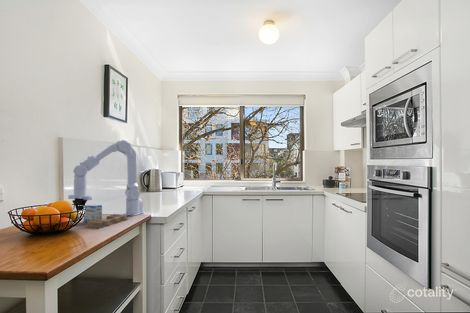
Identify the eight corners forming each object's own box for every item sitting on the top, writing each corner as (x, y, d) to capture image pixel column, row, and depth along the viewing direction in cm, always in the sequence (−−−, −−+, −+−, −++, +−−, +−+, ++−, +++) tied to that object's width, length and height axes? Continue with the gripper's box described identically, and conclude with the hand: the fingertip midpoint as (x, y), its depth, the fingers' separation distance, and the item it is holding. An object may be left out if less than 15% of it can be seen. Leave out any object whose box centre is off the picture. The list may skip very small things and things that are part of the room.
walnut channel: (114, 218, 149) (114, 214, 149) (127, 219, 146) (127, 215, 146) (87, 226, 132) (87, 221, 132) (100, 228, 129) (100, 222, 129)
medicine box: (83, 222, 141) (83, 205, 141) (90, 220, 146) (90, 204, 146) (95, 223, 139) (95, 206, 139) (102, 221, 143) (102, 204, 143)
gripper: (63, 187, 144) (62, 213, 144) (83, 188, 139) (83, 215, 139) (74, 186, 151) (74, 210, 150) (95, 187, 146) (94, 212, 146)
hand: (79, 212), depth 145 cm, fingers closed
